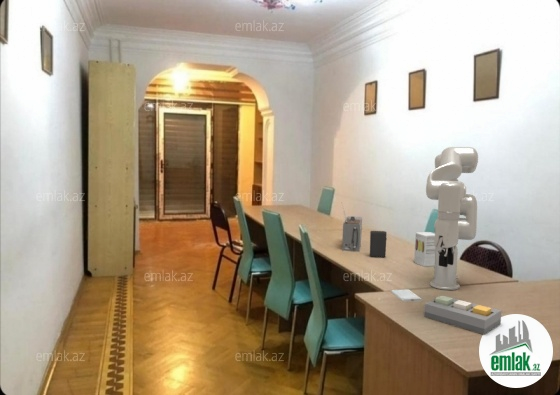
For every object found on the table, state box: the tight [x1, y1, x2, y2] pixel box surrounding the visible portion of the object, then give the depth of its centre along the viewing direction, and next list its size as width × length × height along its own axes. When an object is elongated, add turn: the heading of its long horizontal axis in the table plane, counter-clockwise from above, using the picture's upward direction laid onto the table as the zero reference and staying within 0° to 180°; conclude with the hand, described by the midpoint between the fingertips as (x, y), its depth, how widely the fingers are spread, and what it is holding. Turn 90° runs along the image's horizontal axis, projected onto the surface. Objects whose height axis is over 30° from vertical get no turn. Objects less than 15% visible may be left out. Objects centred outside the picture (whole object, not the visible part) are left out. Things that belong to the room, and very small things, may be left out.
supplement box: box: [413, 231, 435, 268], centre depth 245 cm, size 10×9×17 cm
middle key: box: [453, 299, 473, 311], centre depth 164 cm, size 5×5×2 cm
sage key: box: [434, 295, 454, 306], centre depth 169 cm, size 5×5×2 cm
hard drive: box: [390, 288, 423, 303], centre depth 191 cm, size 2×8×12 cm
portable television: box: [341, 203, 363, 252], centre depth 285 cm, size 12×24×30 cm, turn 167°
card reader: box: [369, 230, 388, 259], centre depth 260 cm, size 9×4×15 cm, turn 80°
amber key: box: [473, 304, 492, 316], centre depth 159 cm, size 5×5×2 cm
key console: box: [423, 295, 502, 336], centre depth 164 cm, size 14×22×5 cm, turn 44°
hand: (445, 264), depth 168 cm, fingers open, 3 cm apart
